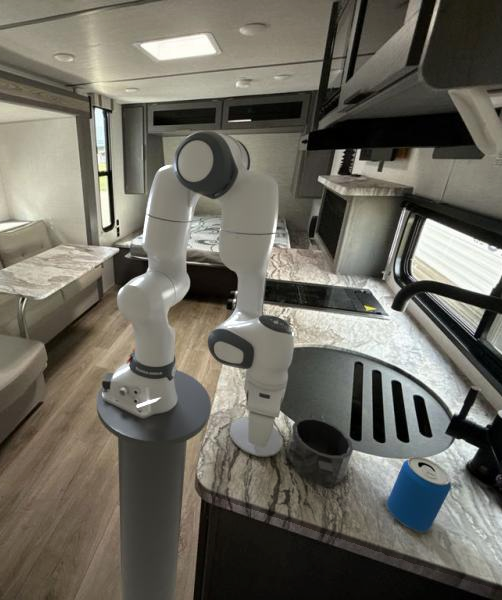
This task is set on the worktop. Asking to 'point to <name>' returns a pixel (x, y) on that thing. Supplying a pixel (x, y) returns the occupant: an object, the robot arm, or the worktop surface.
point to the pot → (319, 450)
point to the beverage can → (419, 493)
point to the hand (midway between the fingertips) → (256, 431)
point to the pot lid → (241, 440)
